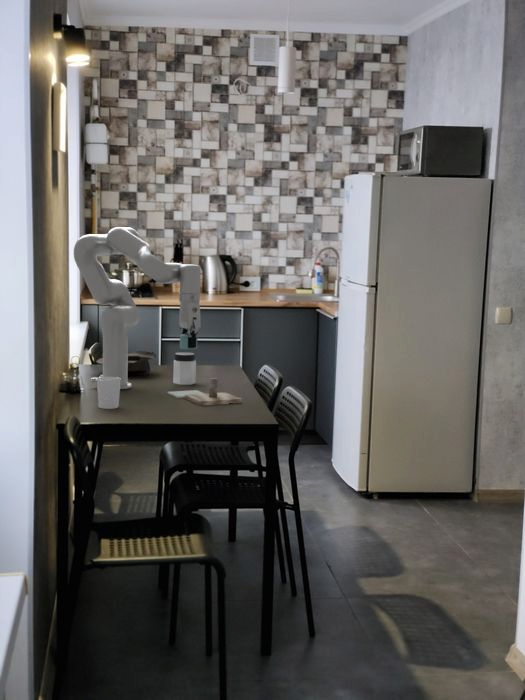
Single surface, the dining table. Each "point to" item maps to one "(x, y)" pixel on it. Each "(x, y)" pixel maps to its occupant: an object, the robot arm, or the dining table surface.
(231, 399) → the post base
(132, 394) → the dining table surface
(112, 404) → the white cup
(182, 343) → the cap
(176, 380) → the jar
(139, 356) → the stone bowl
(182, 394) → the mat
